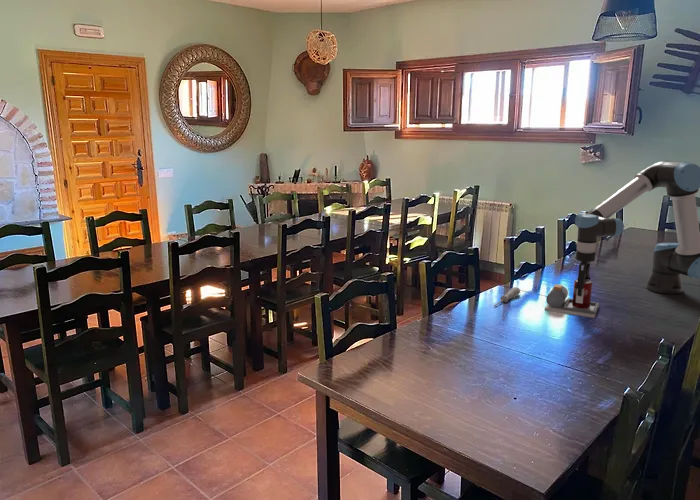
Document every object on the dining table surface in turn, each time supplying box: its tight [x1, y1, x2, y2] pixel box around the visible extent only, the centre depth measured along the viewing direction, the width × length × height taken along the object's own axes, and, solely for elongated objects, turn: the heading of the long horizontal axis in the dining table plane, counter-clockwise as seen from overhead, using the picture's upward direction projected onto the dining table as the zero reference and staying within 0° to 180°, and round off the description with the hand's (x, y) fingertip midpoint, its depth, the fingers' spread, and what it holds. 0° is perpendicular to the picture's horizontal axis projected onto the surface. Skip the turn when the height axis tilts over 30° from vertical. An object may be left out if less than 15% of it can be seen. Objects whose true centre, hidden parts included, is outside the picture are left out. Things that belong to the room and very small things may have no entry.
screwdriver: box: [493, 286, 521, 307], centre depth 241 cm, size 5×25×4 cm, turn 138°
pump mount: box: [544, 283, 600, 319], centre depth 229 cm, size 20×16×9 cm
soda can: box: [572, 278, 593, 310], centre depth 226 cm, size 7×7×12 cm
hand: (581, 298), depth 227 cm, fingers open, 13 cm apart
